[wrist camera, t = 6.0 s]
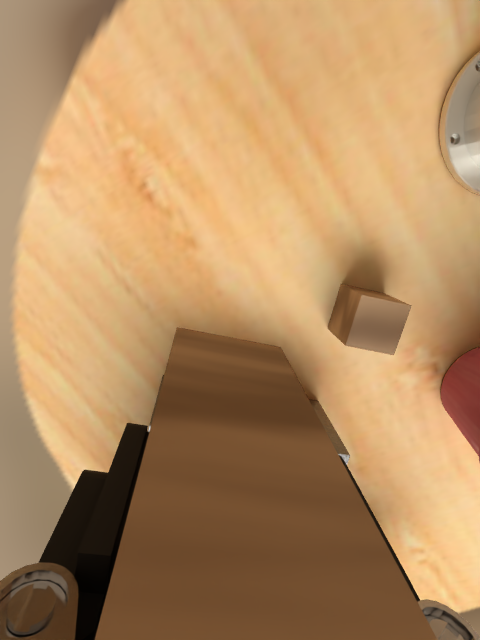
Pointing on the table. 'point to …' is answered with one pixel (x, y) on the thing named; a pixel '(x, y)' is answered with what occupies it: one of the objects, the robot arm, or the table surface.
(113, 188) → the table surface
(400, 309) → the short pin
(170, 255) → the table surface
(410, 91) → the table surface
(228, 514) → the tall pin
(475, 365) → the plant pot
